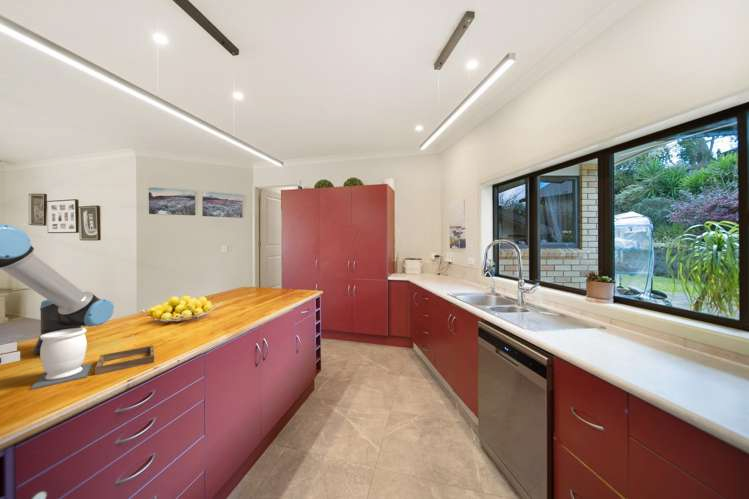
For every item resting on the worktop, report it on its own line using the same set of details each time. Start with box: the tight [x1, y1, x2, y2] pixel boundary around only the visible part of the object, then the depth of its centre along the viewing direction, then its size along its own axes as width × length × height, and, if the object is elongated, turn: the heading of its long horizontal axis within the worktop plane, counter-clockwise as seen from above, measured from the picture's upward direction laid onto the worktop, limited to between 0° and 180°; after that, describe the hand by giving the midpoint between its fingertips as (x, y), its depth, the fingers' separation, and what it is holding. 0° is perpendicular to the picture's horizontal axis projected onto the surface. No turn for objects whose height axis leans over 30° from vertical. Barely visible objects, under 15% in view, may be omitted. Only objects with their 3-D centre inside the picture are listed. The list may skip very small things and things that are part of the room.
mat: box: [30, 362, 93, 391], centre depth 92 cm, size 14×12×1 cm
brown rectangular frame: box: [94, 345, 155, 376], centre depth 103 cm, size 15×16×2 cm
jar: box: [39, 327, 88, 380], centre depth 91 cm, size 11×10×15 cm
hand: (18, 350), depth 84 cm, fingers open, 13 cm apart
